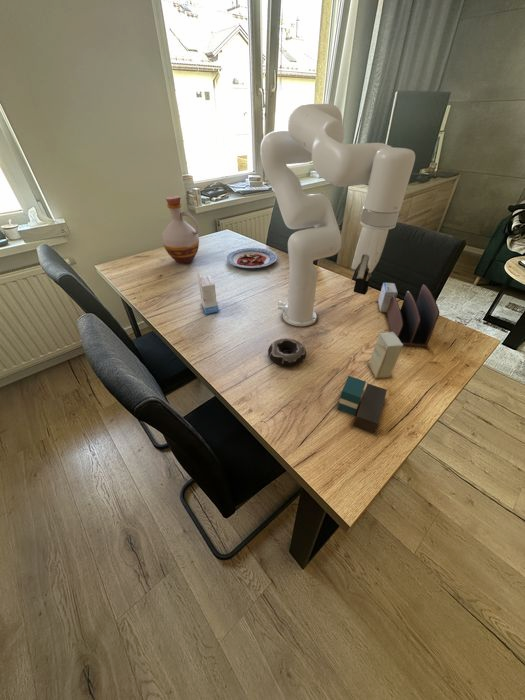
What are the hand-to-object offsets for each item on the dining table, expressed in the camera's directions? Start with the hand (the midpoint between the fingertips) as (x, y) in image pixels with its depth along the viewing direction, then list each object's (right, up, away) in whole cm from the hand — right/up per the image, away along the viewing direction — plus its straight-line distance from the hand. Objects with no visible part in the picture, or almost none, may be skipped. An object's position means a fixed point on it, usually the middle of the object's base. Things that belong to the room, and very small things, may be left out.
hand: (360, 291), depth 74 cm
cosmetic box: (+9, -22, +11) cm, 26 cm away
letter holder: (+25, -8, +27) cm, 38 cm away
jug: (-65, +31, +75) cm, 105 cm away
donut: (-18, -18, +16) cm, 30 cm away
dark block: (+2, -31, -1) cm, 31 cm away
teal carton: (0, -30, 0) cm, 30 cm away
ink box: (-46, +1, +39) cm, 60 cm away
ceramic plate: (-31, +31, +74) cm, 86 cm away
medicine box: (+23, +2, +39) cm, 45 cm away
